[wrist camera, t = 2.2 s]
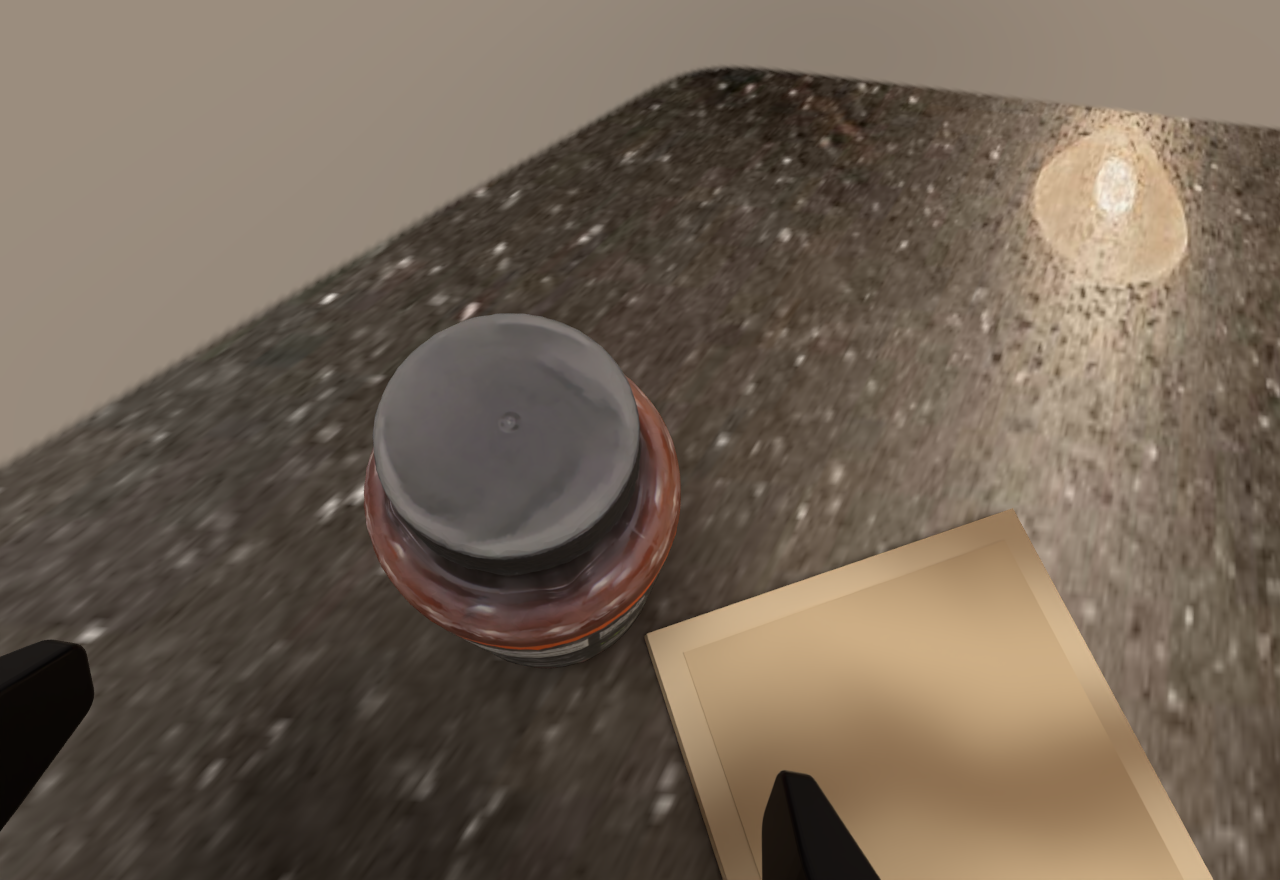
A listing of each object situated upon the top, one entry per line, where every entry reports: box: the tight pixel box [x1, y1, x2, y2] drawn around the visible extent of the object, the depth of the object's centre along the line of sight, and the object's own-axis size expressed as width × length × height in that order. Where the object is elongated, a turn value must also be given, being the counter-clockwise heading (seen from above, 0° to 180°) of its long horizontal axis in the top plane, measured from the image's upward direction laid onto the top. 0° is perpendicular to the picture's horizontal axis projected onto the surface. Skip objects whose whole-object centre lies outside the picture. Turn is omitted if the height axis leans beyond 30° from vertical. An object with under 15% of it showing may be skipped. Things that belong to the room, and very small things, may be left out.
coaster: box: [644, 508, 1213, 880], centre depth 19 cm, size 12×12×1 cm
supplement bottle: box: [364, 314, 681, 668], centre depth 15 cm, size 6×6×11 cm
